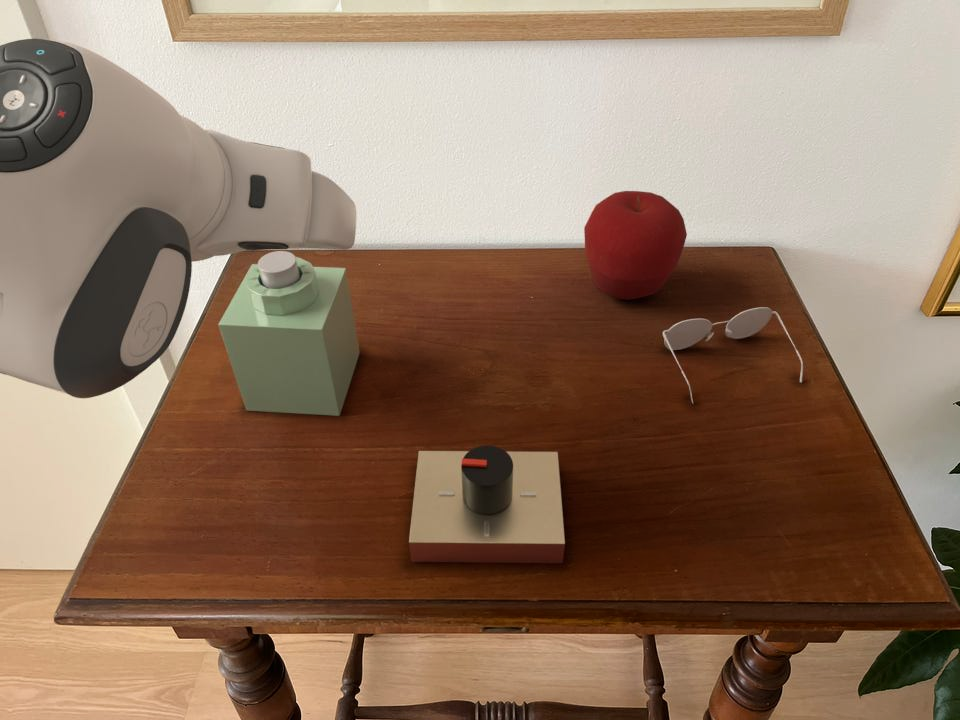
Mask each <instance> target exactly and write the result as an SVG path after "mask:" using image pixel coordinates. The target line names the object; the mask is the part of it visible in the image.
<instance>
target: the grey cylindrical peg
mask: <svg viewBox="0 0 960 720" xmlns="http://www.w3.org/2000/svg"><path fill="white" fill-rule="evenodd" d="M296 257H297V256H295V254H294V253H293V252H290V251H286V250H277V251H272V252H268V253H266V254H265V255H263V256H261V257H260V258H259V260H258V261H257V264H258V268H259V272H260V276H261V280H262V283H263V285H264V286H265V287H267V288H270V289H281V288H285V287H289V286H292V285H293V284H295V283H296V282H298V280H299V278H300V274H299V269H298V265H297V260H296Z"/></svg>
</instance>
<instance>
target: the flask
mask: <svg viewBox="0 0 960 720" xmlns="http://www.w3.org/2000/svg"><path fill="white" fill-rule="evenodd" d="M295 257H296V260H297V265H298V269H299V274H300V278H299V280H298V282H296V283H295V284H293V285H292V286H289V287H285V288H281V289H270V288H267V287H265V286H264V285H263V283H262V280H261V276H260V272H259V268H258V263H254V264H253V263H252V264H251V265H250V267H249V269H248V271H247V272H246V274H245V276H244V277H243V279H242V282H241V283H240V284H239V286H238V288H237V290H236V292H235V294H234V295H233V297H232V299H231V301H230V302H229V305H228V306H227V308H226V310H225V311H224V313H223V315H222V317H221V318H220V320H219V322H218V323H217V324H218V325H217V326H218V329H219V332H220V334H221V337H222V341H223V344H224V347H225V350H226V353H227V356H228V359H229V361H230V365H231V368H232V372H233V374H234V377H235V380H236V383H237V386H238V390H239V392H240V395H241V399H242V401H243V405H244V408H245V411H248V412H265V413H266V412H267V413H279V414H280V413H281V414H301V415H318V416H335V417H340V416H341V413H342V410H343V407H344V403H345V400H346V397H347V394H348V390H349V387H350V385H351V381H352V378H353V375H354V371H355V369H356V365H357V362H358V359H359V356H360V353H361V352H360V346H359V340H358V333H357V327H356V322H355V315H354V308H353V303H352V297H351V291H350V285H349V279H348V272H347V268H346V267H332V266H331V267H330V266H329V267H328V266H314V265H313V264H312V263H311V262H310V261H307V260H305V259H303V258H300V257H298V256H295Z"/></svg>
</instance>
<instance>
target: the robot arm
mask: <svg viewBox="0 0 960 720" xmlns="http://www.w3.org/2000/svg"><path fill="white" fill-rule="evenodd" d="M356 231H357V207H356V203H355V202H354V200H353V199H352V198H351V196H349V194H347V192H345V190H344V189H342V187H340V186H339V185H338V184H337V183H336V182H335V181H333V180H332V179H331V178H329V177H328V176H326V175H324V174H321V173H319V172H317V171H313V169H312V160H311V157H309V155H308V154H306V153H305V152H303V151H300V150H296V149H292V148H291V149H290V148H285V147H281V146H275V145H268V144H264V143H263V144H262V143H258V142H253V141H246V140H242V139H239V138H236V137H233V136H230V135H227V134H225V133H223V132H219V131H216V130H214V129H210V128H209V129H204V128H203V127H201V126H200V125H199V124H198V123H196V122H195V121H193V120H191V119H190V118H188V117H186V116H184V115H181V114H180V113H179V112H178V111H177V110H176V108H175V107H174V106H173V105H172V104H171V103H170V102H169V100H167V99H166V98H165V97H164V96H162V95H161V94H160V93H158V92H157V91H155V90H154V89H153V88H151V86H149V85H148V84H146V83H145V82H143V81H142V80H141V79H139V78H138V77H136V76H135V75H133V74H132V73H131V72H128V71H127V70H126V69H124V68H122V67H121V66H119V65H117V64H116V63H114V62H113V61H111V60H109V59H107V58H106V57H104V56H102V55H100V54H98V53H96V52H94V51H92V50H90V49H87V48H85V47H83V46H80V45H77V44H74V43H71V42H68V41H62V40H57V39H48V38H26V39H19V40H18V39H17V40H14V41H9V42H7V43H4V44H1V45H0V374H1V375H4V376H9V377H12V378H15V379H18V380H21V381H23V382H27V383H30V384H33V385H35V386H39V387H42V388H45V389H49V390H53V391H55V392H59V393H62V394H65V395H68V396H70V397H73V398H76V399H90V398H95V397H99V396H102V395H105V394H107V393H110V392H113V391H115V390H117V389H119V388H121V387H122V386H125V385H126V384H127V383H130V381H132V380H134V379H135V378H136V377H138V376H139V375H140V374H142V373H143V372H145V371H146V370H147V369H148V368H149V367H151V366H152V365H153V364H154V363H156V361H157V360H159V358H161V356H162V355H163V354H164V353H165V352H166V351H167V349H168V348H169V347H170V345H171V343H172V342H173V340H174V338H175V336H176V333H177V332H178V329H179V326H180V324H181V321H182V320H183V319H182V318H183V317H184V313H185V311H186V310H185V309H186V307H187V302H188V299H189V293H190V289H191V281H192V272H193V271H192V269H193V262H201V261H206V260H208V259H211V258H213V257H220V256H227V255H233V254H237V253H241V252H247V251H263V250H264V251H265V250H266V251H267V250H288V249H319V250H321V249H322V250H323V249H324V250H338V251H346V250H349V249H352V248H353V247H354V245H355V241H356V233H357V232H356Z"/></svg>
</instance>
